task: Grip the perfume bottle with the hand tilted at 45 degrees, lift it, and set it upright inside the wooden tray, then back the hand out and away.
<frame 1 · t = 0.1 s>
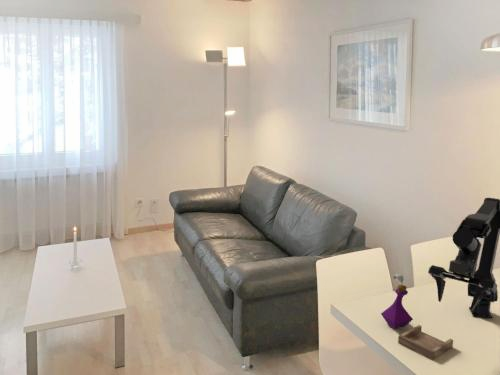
hand: (454, 305, 146), 15 cm above the table, tool tilted 35°, fingers open, 9 cm apart
perfume bottle: (396, 325, 165), on the table
wooden tray: (425, 344, 153), on the table
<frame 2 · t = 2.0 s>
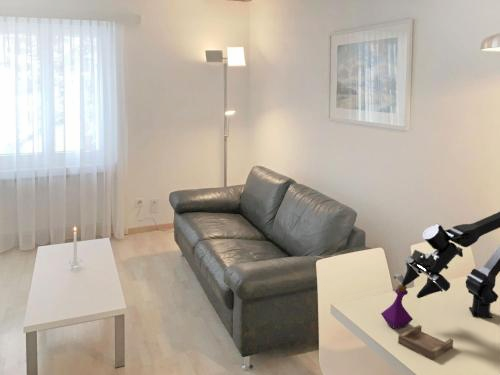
hand: (409, 291, 163), 12 cm above the table, tool tilted 45°, fingers open, 9 cm apart
nothing on the table moved.
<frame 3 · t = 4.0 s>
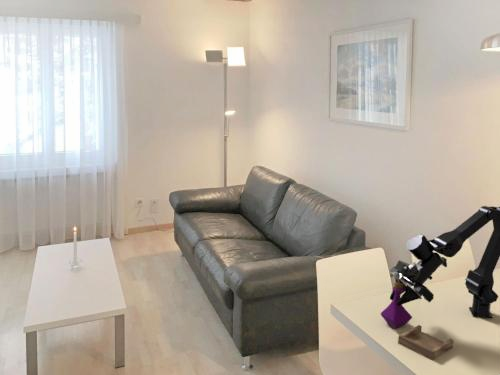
hand: (393, 302, 162), 9 cm above the table, tool tilted 45°, fingers closed on perfume bottle, 4 cm apart
perfume bottle: (396, 325, 165), on the table, touching gripper
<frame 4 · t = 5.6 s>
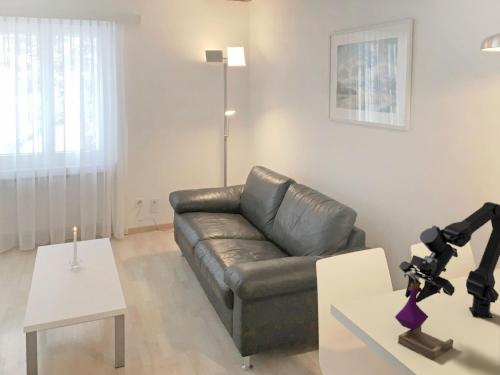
hand: (411, 299, 154), 13 cm above the table, tool tilted 45°, fingers closed on perfume bottle, 4 cm apart
perfume bottle: (411, 326, 157), point 3 cm above the table, touching gripper
when the fingers open (11 cm above the table, at t = 7.2 s): perfume bottle stays where it is, resting on wooden tray.
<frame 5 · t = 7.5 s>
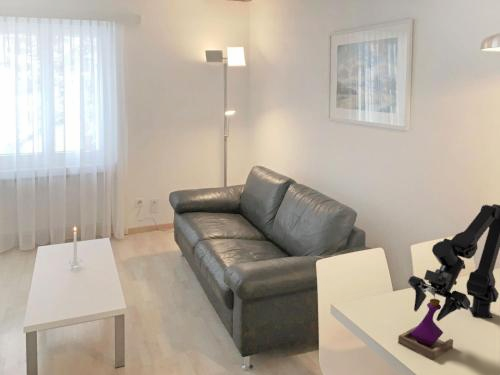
hand: (425, 315, 149), 10 cm above the table, tool tilted 45°, fingers open, 7 cm apart
perfume bottle: (426, 342, 153), resting on wooden tray
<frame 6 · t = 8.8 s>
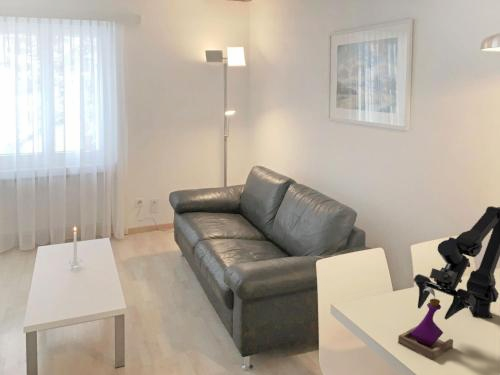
hand: (431, 313, 151), 10 cm above the table, tool tilted 45°, fingers open, 9 cm apart
nothing on the table moved.
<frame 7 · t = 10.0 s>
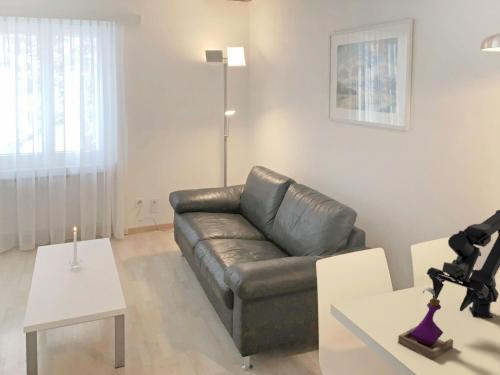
hand: (446, 305, 156), 10 cm above the table, tool tilted 40°, fingers open, 9 cm apart
nothing on the table moved.
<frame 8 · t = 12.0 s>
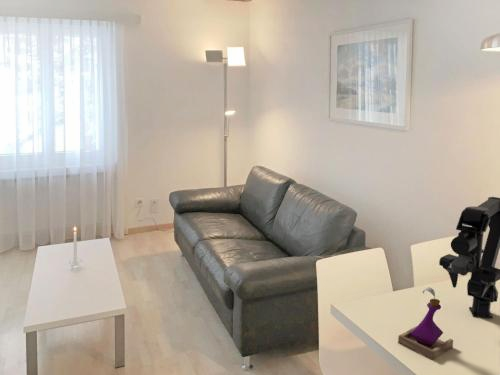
hand: (467, 291, 159), 13 cm above the table, tool pointing down, fingers open, 9 cm apart
nothing on the table moved.
at the end: perfume bottle 0.3 cm off-centre on the wooden tray, point 0.4 cm above the wooden tray's base; perfume bottle tilted 0°; the gripper is holding nothing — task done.
